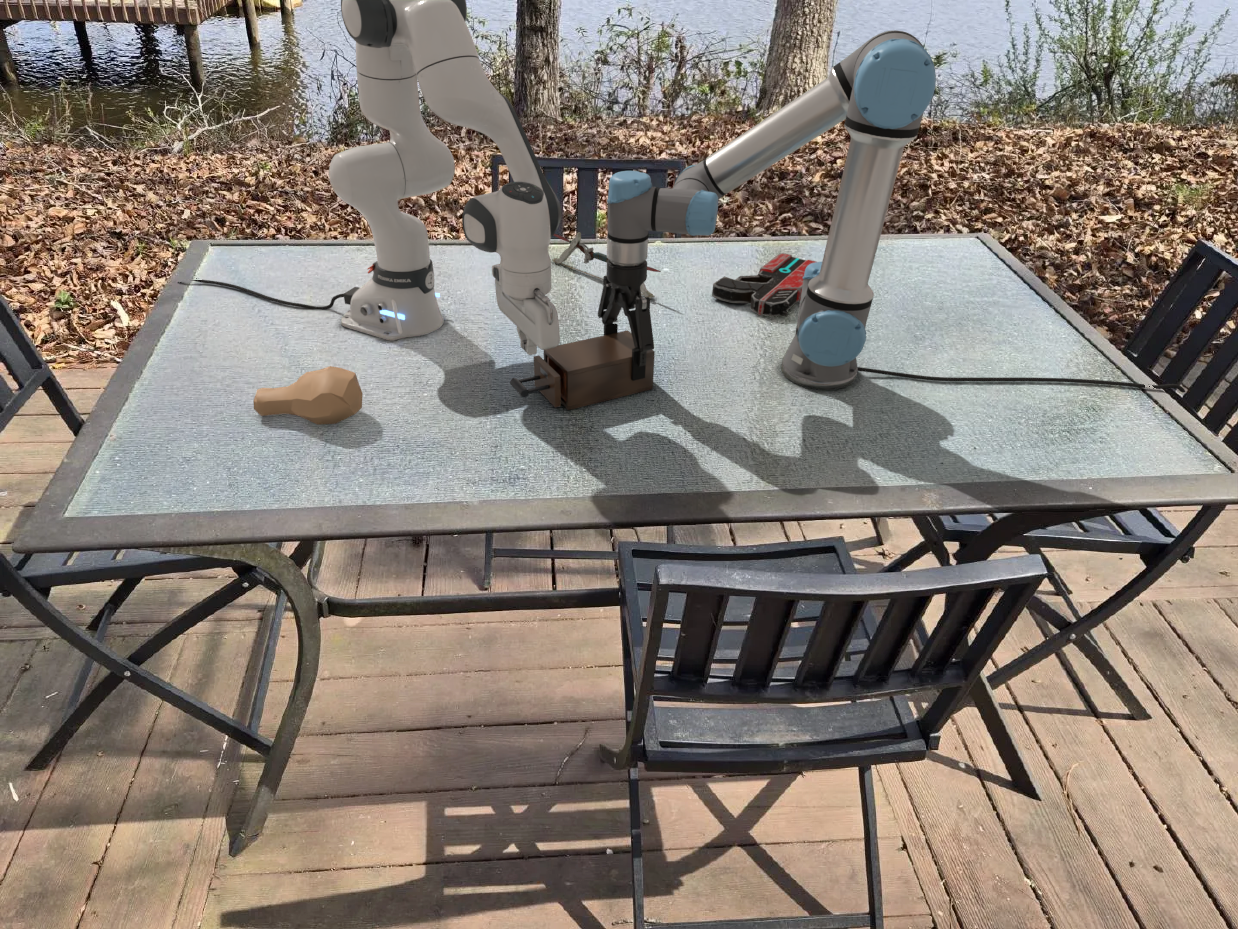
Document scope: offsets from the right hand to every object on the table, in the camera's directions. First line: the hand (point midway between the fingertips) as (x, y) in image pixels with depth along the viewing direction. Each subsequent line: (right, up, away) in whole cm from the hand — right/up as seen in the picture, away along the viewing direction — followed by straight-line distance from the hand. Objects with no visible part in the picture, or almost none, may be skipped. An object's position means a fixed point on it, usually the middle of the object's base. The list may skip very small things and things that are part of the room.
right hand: (623, 366), depth 174 cm
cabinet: (-5, -4, 0) cm, 7 cm away
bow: (-5, +27, +46) cm, 54 cm away
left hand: (-17, +1, -13) cm, 22 cm away
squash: (-58, -11, -12) cm, 60 cm away
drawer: (-10, -5, -3) cm, 12 cm away
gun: (+37, +23, +43) cm, 61 cm away
